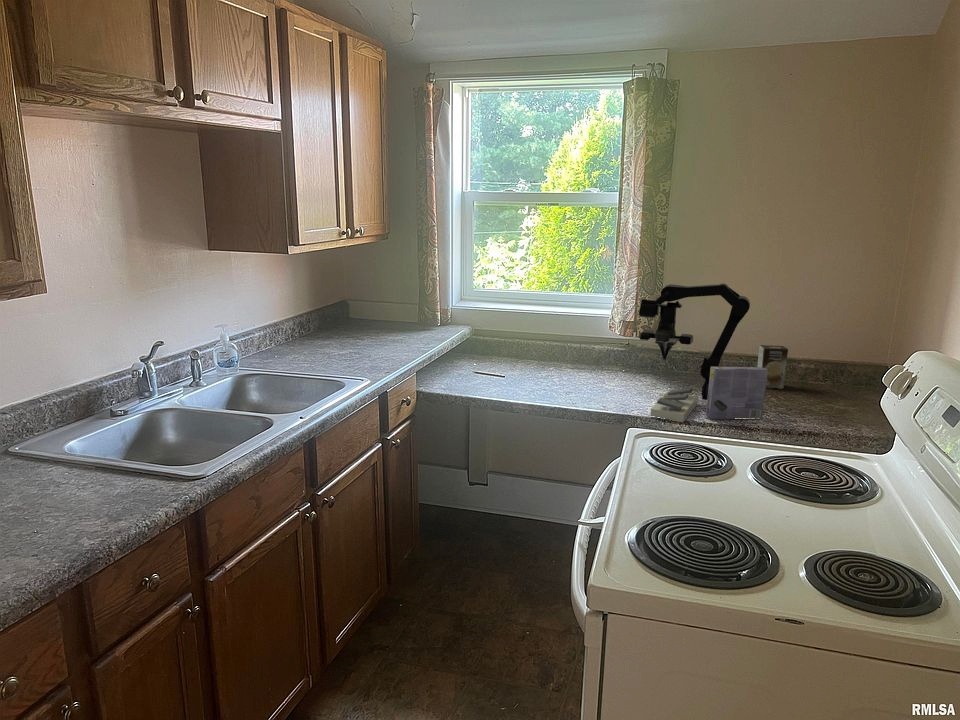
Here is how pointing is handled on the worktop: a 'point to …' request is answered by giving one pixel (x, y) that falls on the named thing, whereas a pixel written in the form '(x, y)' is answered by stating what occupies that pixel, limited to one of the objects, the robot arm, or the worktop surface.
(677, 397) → the block
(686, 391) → the block
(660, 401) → the plate
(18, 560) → the worktop surface
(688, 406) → the switch panel
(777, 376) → the coffee box
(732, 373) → the cake pan box
